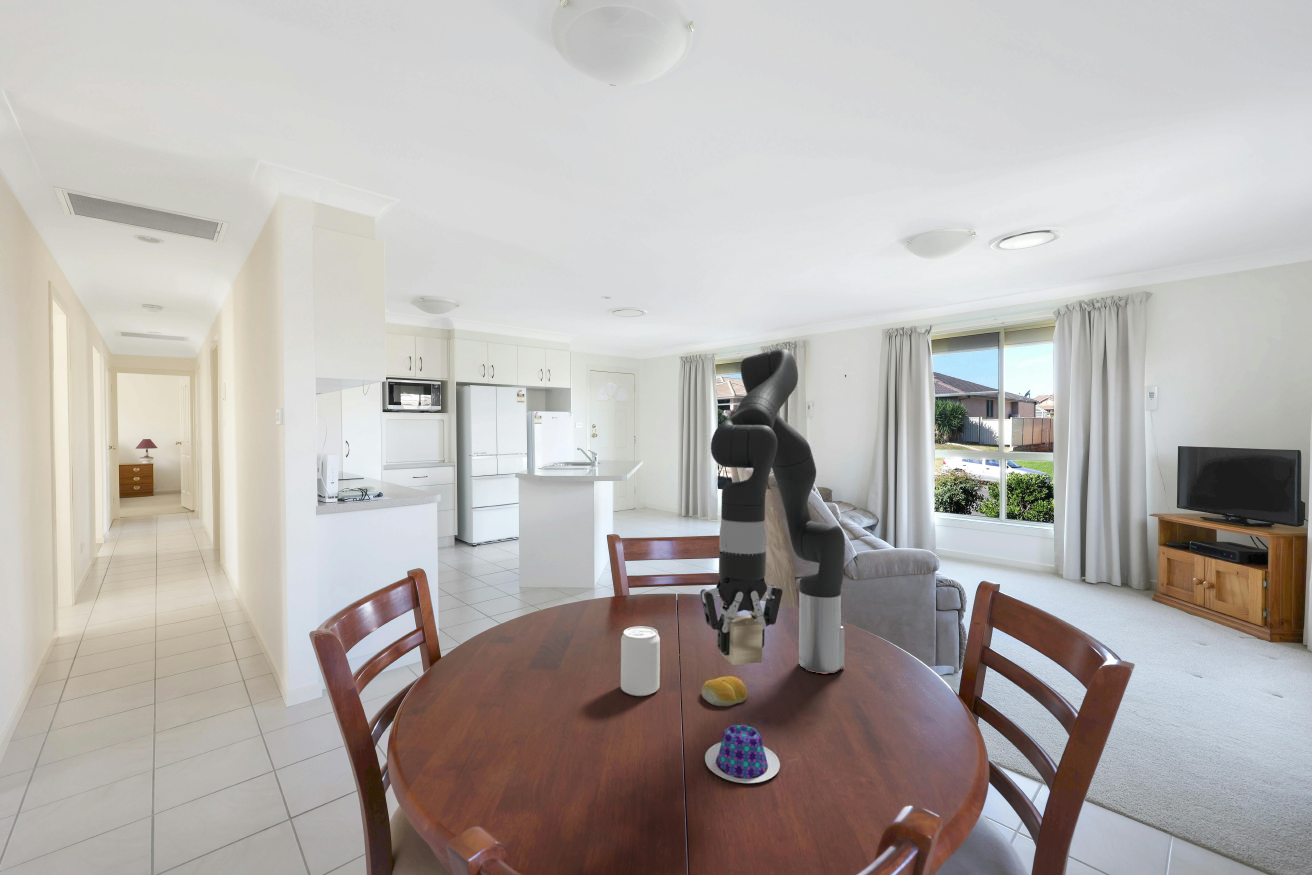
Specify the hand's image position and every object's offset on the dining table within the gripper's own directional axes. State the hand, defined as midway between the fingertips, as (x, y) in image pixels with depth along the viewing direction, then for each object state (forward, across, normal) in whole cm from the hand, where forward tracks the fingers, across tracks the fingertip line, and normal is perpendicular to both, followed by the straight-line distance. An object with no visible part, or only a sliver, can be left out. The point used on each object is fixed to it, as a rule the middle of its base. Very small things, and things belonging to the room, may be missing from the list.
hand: (740, 651), depth 90 cm
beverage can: (+18, +9, -30) cm, 36 cm away
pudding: (+18, 0, 0) cm, 18 cm away
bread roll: (+18, -7, -22) cm, 29 cm away
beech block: (+1, 0, 0) cm, 1 cm away
